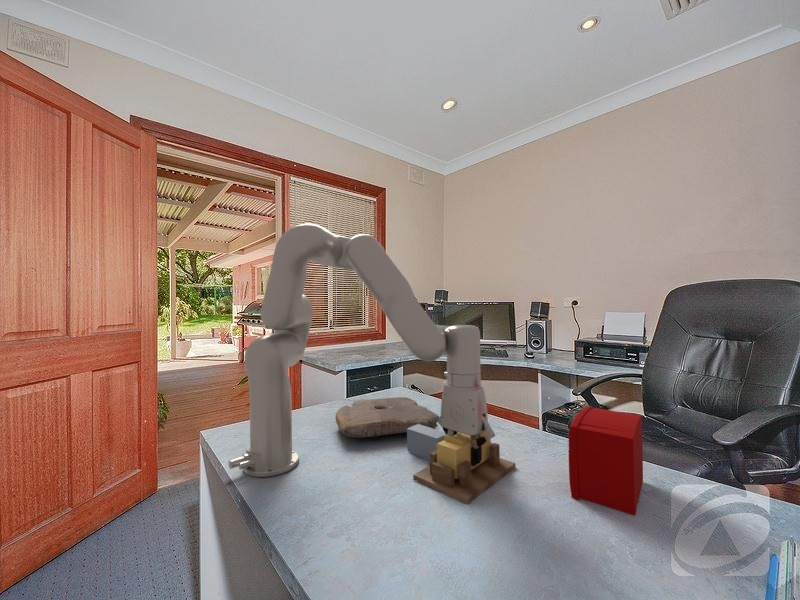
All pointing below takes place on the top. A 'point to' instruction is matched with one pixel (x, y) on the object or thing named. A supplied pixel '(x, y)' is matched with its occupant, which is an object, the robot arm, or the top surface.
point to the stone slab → (383, 417)
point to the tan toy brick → (458, 451)
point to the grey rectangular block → (423, 440)
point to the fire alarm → (606, 458)
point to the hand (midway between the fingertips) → (465, 459)
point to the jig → (465, 475)
